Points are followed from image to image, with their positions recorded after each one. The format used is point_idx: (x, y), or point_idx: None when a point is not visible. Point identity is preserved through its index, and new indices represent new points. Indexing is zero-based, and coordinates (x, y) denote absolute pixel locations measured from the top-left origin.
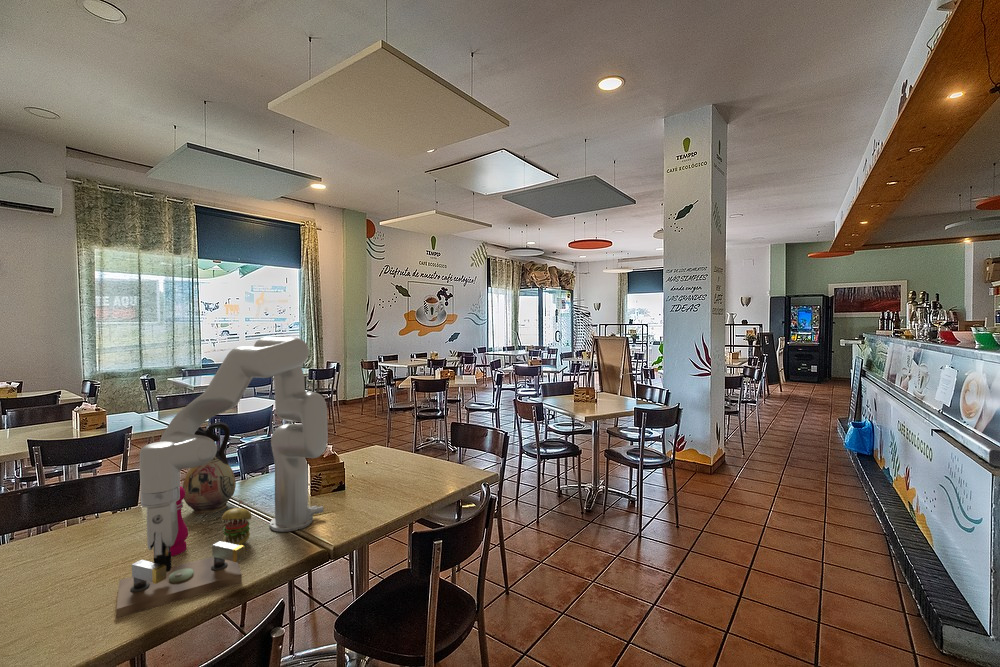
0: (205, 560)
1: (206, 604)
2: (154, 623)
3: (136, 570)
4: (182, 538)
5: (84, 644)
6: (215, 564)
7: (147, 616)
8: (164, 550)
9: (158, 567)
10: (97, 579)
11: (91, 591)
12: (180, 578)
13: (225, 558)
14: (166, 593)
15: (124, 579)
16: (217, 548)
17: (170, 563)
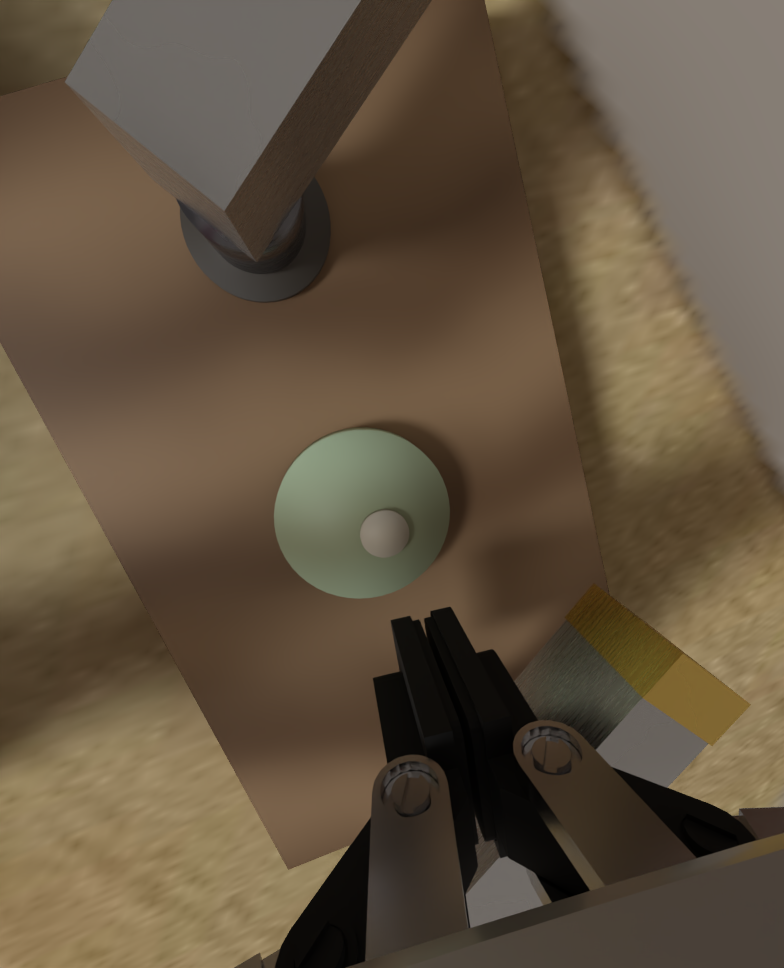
0: (88, 396)
1: (670, 255)
2: (735, 499)
3: None
4: None
5: (757, 720)
6: (296, 243)
7: (652, 558)
8: (737, 838)
9: (695, 707)
10: (151, 964)
11: (288, 922)
12: (444, 499)
13: (386, 57)
14: (573, 531)
15: (288, 847)
16: (302, 121)
17: (460, 641)
